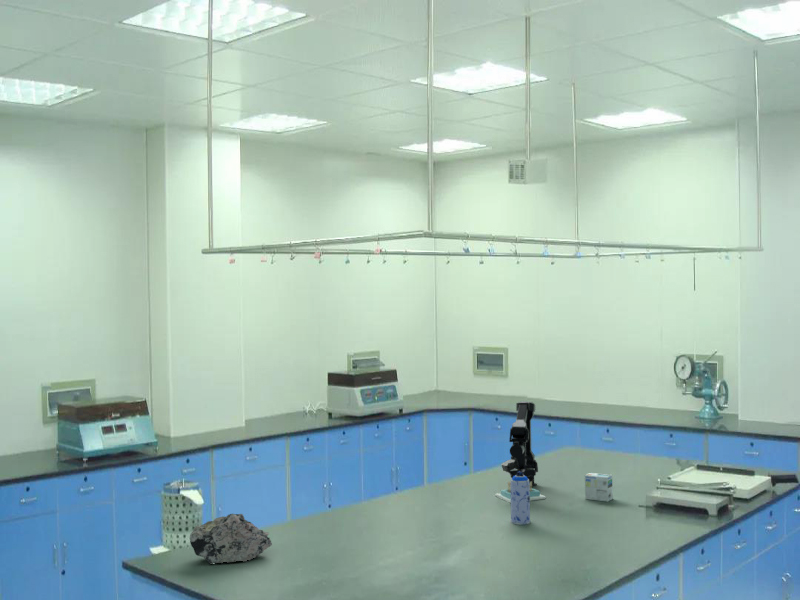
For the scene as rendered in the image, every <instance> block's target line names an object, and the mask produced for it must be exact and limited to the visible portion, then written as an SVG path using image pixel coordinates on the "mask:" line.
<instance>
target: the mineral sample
mask: <svg viewBox="0 0 800 600" xmlns="http://www.w3.org/2000/svg"><path fill="white" fill-rule="evenodd" d="M269 535H270V533H269V532H266V531H264V530H262V529H259V528H258V527H257V526H256V525H254V524H253V523H252V522H251V521H248V520H246V519H245V517H244V514H243V513H238V514H237V513H236V514H235V513H229V514H227V515H226V516H219V517H216V518H215V519H214V520H208V521H206V522H205V523H204V524H200V525H196V526H195V527H194V529H193V531H192V532H191V533H190V536H189V539H190V546H191V547H192V549H193V551H194V554H195V555H196V556H198V557H202V558H204V559H205V560H206V561H207V562H208V564H209V563H210V564H213V563H221V564H224V563H223V562H227V563H234V562H236V561H243V562H248V561H247V560H249V561H251V560H253V558H254V559H255V558H257V557H258V556H259V555H260V554H262V553H263V552H264V551H266V550H267V549H268V548H269V547H271V546H272V545H273V543H272V540H271V537H268V536H269ZM210 564H209V565H210Z"/></svg>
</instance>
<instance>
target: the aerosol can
mask: <svg viewBox="0 0 800 600" xmlns="http://www.w3.org/2000/svg"><path fill="white" fill-rule="evenodd" d="M510 482H511V503H510V517H511V518H510V523H511V524H514V525H521V526H522V525H529V524H531V505H530V504H531V500H530V482H529V479H528V478H527V477H526V476H524V475H523V472H522V471H519V472H517V475H515V476H513V478H510Z"/></svg>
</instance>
